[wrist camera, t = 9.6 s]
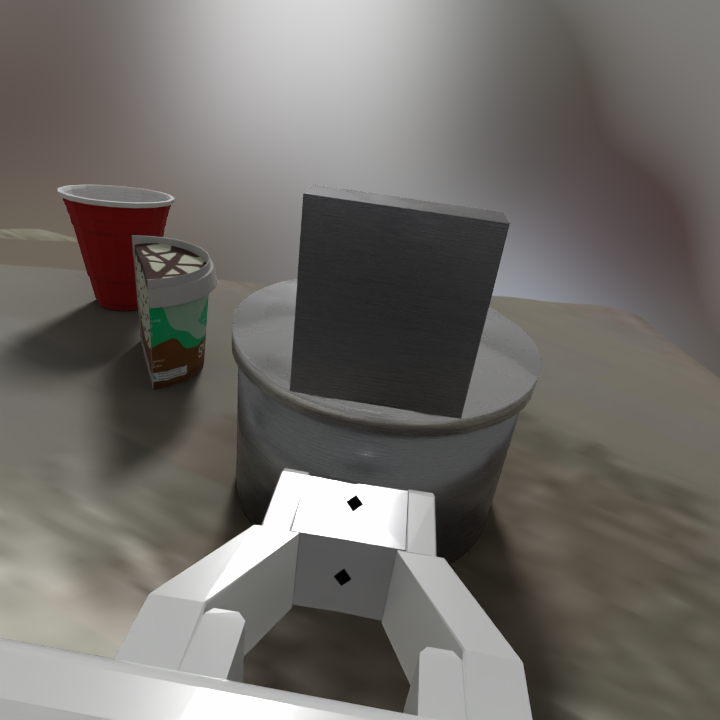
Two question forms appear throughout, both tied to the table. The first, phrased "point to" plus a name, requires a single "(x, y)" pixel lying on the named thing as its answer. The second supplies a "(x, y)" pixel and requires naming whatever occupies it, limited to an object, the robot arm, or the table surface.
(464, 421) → the lid
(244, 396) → the grey cooking pot
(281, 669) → the table surface
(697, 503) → the table surface
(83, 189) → the plastic cup
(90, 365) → the table surface
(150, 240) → the food container
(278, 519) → the robot arm
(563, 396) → the table surface
